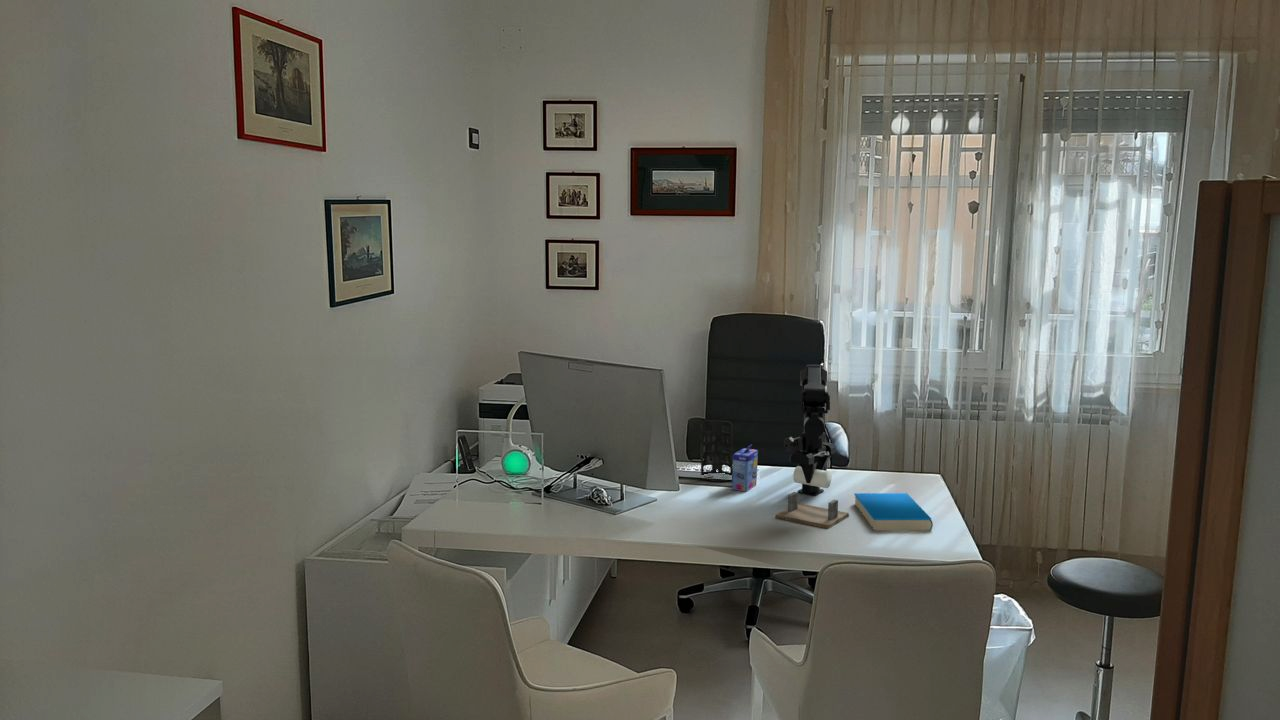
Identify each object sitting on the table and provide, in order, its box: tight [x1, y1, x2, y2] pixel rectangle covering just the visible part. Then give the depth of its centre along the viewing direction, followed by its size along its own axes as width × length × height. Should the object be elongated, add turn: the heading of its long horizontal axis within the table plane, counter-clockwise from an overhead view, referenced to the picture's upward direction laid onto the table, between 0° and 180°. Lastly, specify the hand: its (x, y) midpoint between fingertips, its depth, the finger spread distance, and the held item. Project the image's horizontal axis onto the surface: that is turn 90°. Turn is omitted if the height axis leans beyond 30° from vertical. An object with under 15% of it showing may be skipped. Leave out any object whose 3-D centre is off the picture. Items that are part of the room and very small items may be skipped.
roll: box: [792, 465, 833, 489], centre depth 280 cm, size 5×10×5 cm, turn 53°
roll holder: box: [775, 491, 850, 530], centre depth 281 cm, size 14×17×6 cm
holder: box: [699, 420, 733, 483], centre depth 321 cm, size 11×8×20 cm
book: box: [853, 492, 934, 531], centre depth 282 cm, size 17×4×25 cm
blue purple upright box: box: [731, 444, 759, 493], centre depth 311 cm, size 10×6×14 cm, turn 152°
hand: (812, 481), depth 280 cm, fingers closed on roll, 5 cm apart
